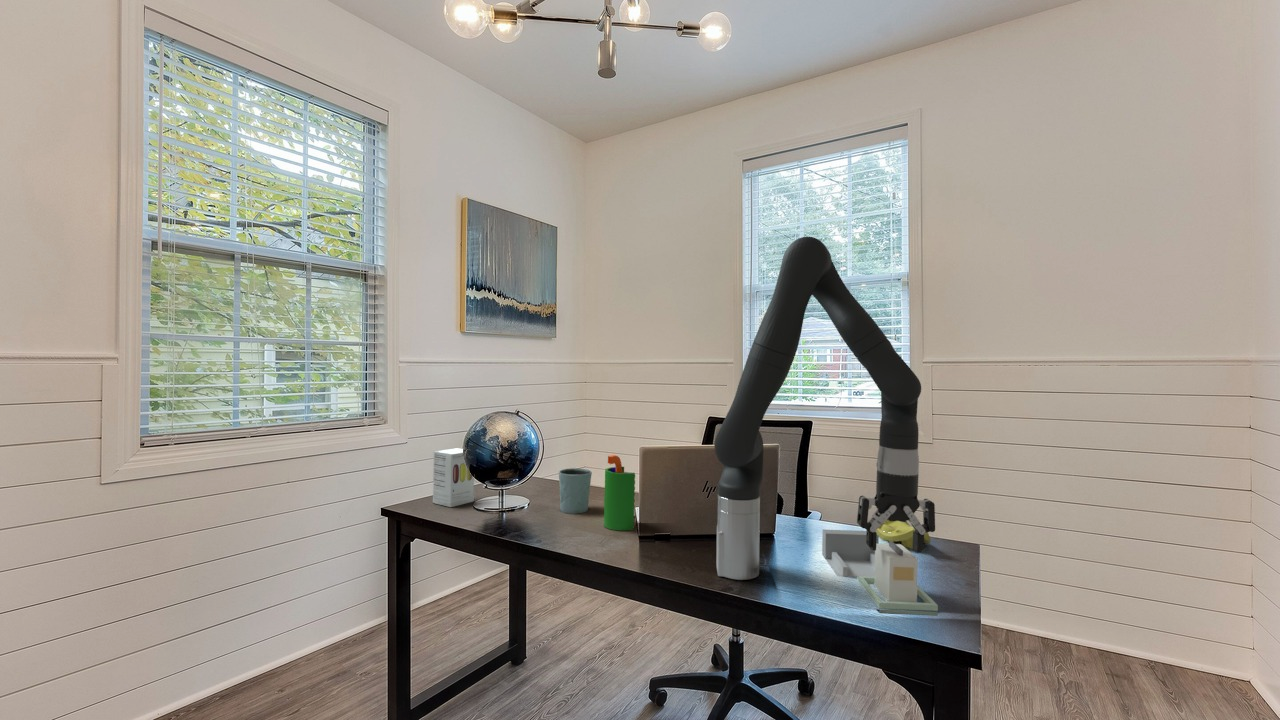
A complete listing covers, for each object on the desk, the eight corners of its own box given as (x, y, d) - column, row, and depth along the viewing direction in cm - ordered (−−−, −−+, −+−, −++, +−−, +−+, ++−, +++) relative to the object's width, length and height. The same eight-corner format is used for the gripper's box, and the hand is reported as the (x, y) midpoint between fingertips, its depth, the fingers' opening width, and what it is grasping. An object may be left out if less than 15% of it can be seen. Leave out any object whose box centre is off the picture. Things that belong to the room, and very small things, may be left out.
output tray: (879, 613, 104) (879, 602, 104) (858, 585, 117) (858, 576, 117) (937, 615, 103) (937, 605, 103) (910, 587, 116) (910, 578, 116)
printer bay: (837, 580, 119) (837, 548, 119) (822, 558, 132) (822, 529, 132) (894, 582, 118) (895, 550, 118) (873, 560, 131) (874, 531, 131)
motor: (643, 527, 155) (643, 456, 155) (616, 533, 150) (616, 459, 150) (623, 518, 163) (624, 451, 163) (597, 523, 158) (597, 453, 158)
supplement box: (450, 508, 173) (450, 454, 173) (431, 503, 178) (432, 451, 178) (474, 501, 181) (475, 450, 181) (456, 497, 186) (456, 447, 186)
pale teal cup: (552, 508, 173) (553, 470, 173) (580, 503, 179) (580, 466, 179) (568, 516, 165) (569, 476, 165) (597, 510, 171) (597, 472, 171)
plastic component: (867, 522, 155) (901, 507, 154) (880, 546, 154) (914, 532, 153) (889, 539, 135) (928, 523, 134) (903, 568, 134) (942, 552, 133)
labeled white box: (889, 604, 106) (890, 552, 106) (874, 586, 114) (875, 538, 114) (917, 605, 106) (918, 553, 106) (900, 587, 114) (901, 539, 114)
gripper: (867, 472, 107) (864, 555, 107) (943, 475, 106) (940, 559, 106) (854, 464, 114) (852, 542, 114) (926, 467, 113) (923, 545, 113)
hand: (894, 550), depth 110 cm, fingers open, 8 cm apart
